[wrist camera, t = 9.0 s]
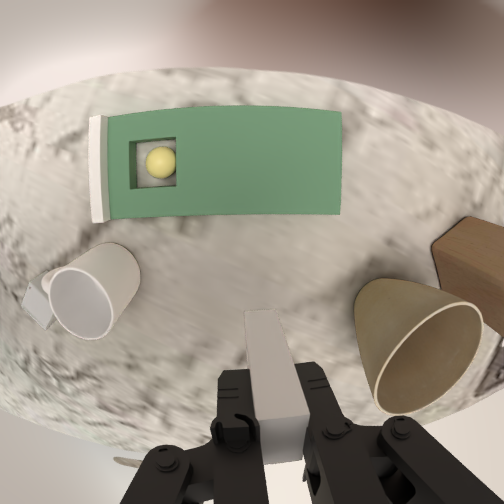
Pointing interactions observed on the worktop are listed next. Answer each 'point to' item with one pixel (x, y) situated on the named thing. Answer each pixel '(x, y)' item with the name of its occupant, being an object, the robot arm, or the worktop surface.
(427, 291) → the plant pot
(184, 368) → the worktop surface
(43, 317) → the small box
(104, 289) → the mug
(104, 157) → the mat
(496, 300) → the wooden block
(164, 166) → the ball
